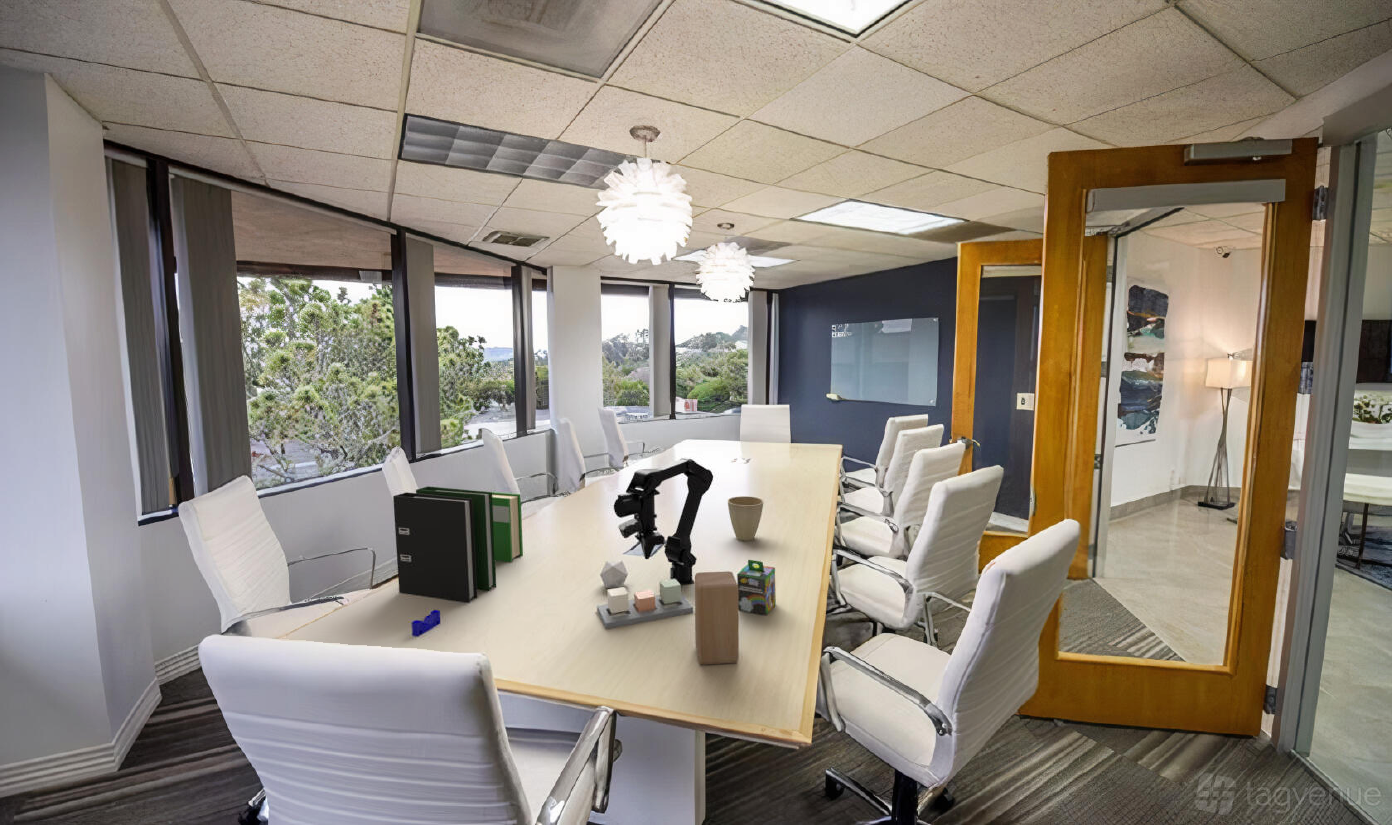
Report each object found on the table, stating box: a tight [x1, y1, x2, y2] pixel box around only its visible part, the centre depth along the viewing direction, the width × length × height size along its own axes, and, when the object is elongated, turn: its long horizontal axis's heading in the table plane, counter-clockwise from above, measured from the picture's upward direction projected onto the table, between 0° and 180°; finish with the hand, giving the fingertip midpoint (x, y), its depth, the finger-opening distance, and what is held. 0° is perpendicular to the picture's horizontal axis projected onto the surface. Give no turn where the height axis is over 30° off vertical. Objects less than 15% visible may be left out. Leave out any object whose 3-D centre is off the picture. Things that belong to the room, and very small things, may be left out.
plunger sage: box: [659, 579, 682, 605], centre depth 166 cm, size 5×5×5 cm
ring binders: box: [392, 485, 497, 604], centre depth 179 cm, size 27×15×32 cm, turn 71°
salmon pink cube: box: [633, 589, 656, 612], centre depth 163 cm, size 5×5×5 cm
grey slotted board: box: [596, 593, 694, 630], centre depth 163 cm, size 26×12×2 cm, turn 112°
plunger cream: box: [606, 586, 630, 614], centre depth 160 cm, size 5×5×5 cm
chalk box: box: [736, 559, 777, 617], centre depth 165 cm, size 9×9×15 cm
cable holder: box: [411, 609, 442, 637], centre depth 154 cm, size 8×4×4 cm, turn 161°
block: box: [694, 570, 740, 665], centre depth 138 cm, size 10×10×20 cm
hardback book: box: [483, 490, 524, 563], centre depth 210 cm, size 18×7×24 cm, turn 72°
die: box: [599, 560, 629, 589], centre depth 182 cm, size 8×9×10 cm
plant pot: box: [727, 495, 764, 542], centre depth 229 cm, size 15×15×16 cm
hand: (646, 558), depth 174 cm, fingers closed
